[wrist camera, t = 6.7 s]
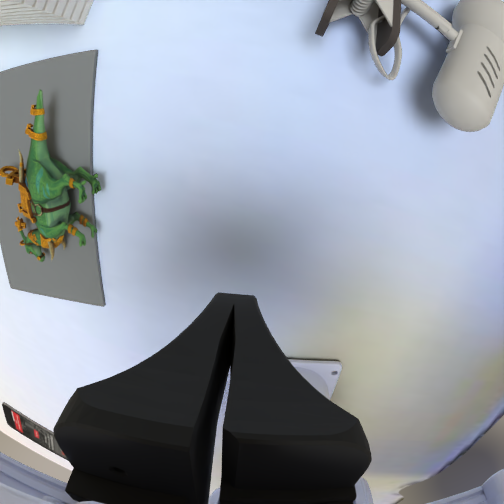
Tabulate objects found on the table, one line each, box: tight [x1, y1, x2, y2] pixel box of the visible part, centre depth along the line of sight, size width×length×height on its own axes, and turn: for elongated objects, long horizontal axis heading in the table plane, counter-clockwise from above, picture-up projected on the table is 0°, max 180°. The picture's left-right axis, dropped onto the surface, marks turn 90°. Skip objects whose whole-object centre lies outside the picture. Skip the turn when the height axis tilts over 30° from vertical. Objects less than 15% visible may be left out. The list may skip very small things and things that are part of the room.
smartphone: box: [2, 402, 69, 461], centre depth 33 cm, size 7×1×15 cm
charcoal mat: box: [0, 50, 105, 307], centre depth 19 cm, size 18×10×1 cm, turn 175°
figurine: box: [0, 90, 101, 262], centre depth 17 cm, size 3×12×8 cm
